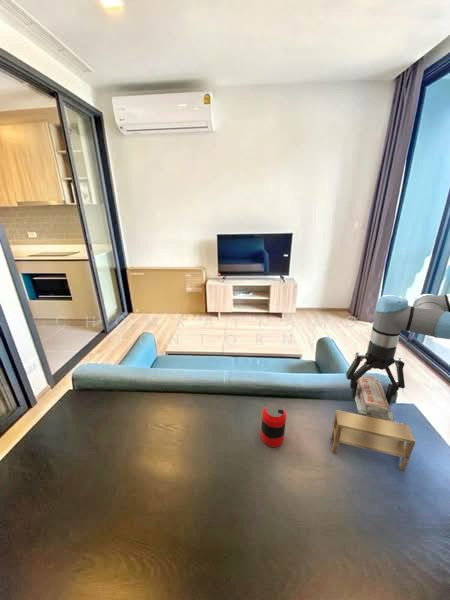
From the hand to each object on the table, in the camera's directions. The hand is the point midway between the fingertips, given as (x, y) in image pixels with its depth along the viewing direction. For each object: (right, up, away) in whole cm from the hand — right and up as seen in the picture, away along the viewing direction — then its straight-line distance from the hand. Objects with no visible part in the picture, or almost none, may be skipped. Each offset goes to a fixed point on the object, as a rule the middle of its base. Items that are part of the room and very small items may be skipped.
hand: (369, 398), depth 87 cm
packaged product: (0, -1, 0) cm, 1 cm away
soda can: (-35, -12, -3) cm, 37 cm away
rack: (-6, -14, -8) cm, 17 cm away
